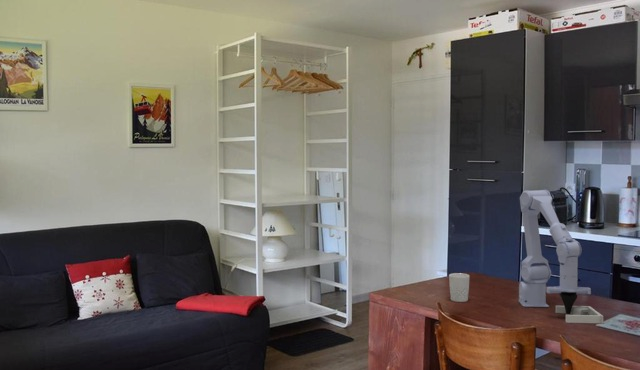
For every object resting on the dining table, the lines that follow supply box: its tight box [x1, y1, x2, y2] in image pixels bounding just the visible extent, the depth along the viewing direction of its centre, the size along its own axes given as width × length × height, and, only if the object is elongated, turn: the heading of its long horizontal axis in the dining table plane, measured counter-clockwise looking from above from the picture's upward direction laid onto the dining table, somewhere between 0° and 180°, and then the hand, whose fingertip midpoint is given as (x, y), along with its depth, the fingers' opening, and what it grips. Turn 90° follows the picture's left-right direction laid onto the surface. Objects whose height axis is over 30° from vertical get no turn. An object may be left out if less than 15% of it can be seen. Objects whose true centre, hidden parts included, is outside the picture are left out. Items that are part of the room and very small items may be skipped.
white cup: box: [448, 272, 470, 303], centre depth 229 cm, size 8×8×10 cm
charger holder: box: [555, 305, 604, 324], centre depth 203 cm, size 12×13×2 cm
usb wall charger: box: [571, 305, 590, 315], centre depth 202 cm, size 4×7×4 cm, turn 16°
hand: (568, 313), depth 203 cm, fingers closed
